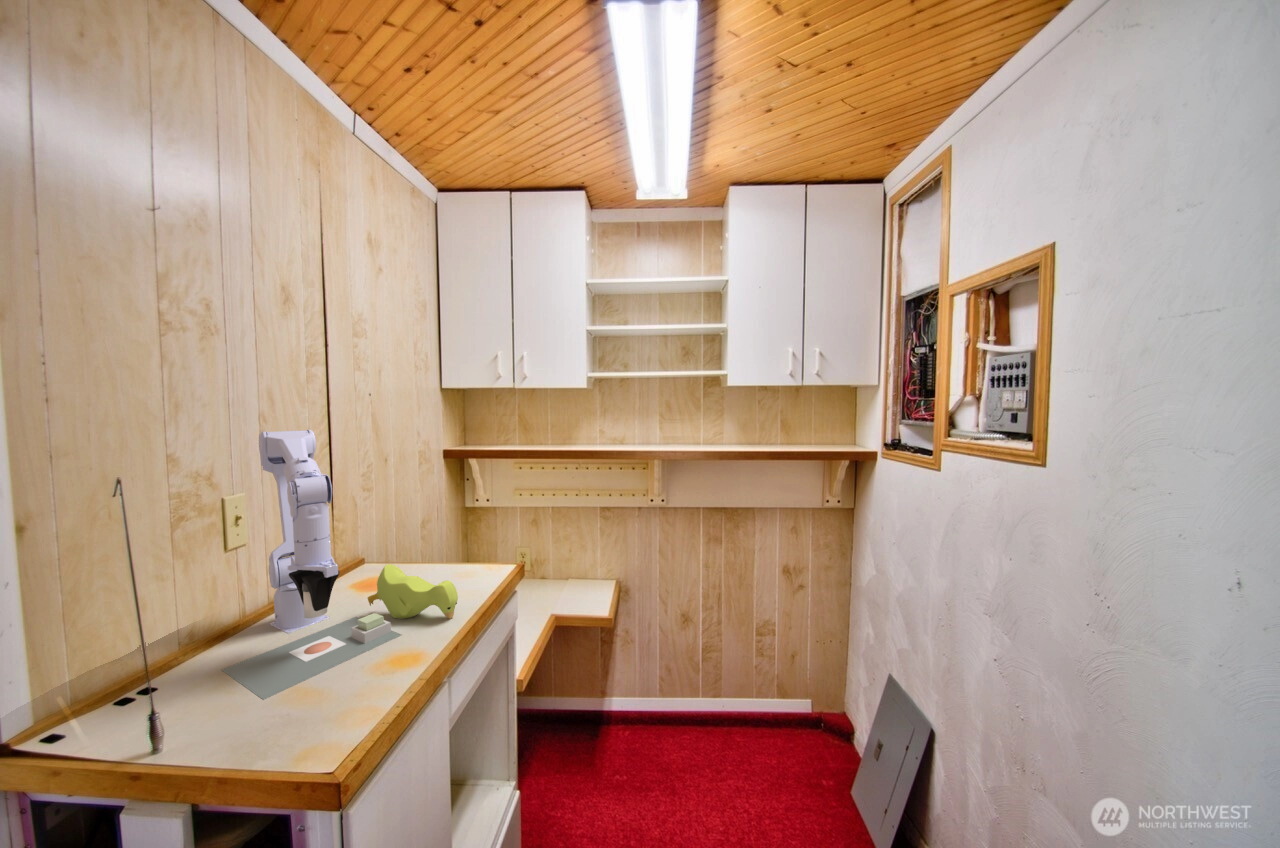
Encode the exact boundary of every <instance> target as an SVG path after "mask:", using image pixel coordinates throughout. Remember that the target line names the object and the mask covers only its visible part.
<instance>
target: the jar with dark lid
mask: <svg viewBox="0 0 1280 848" xmlns="http://www.w3.org/2000/svg"><path fill="white" fill-rule="evenodd" d="M302 591H303V599H304V617H305V618H315V617H319V616H322V615H326V614H327V613H328V607H327V608H324V609H322V610H319V611H314V609H313V606H312V601H311V596H310V593H309V590H308V588H307V586H306V584H305V583H304V582H303V583H302Z"/></svg>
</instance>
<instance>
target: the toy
mask: <svg viewBox="0 0 1280 848" xmlns="http://www.w3.org/2000/svg"><path fill="white" fill-rule="evenodd" d="M376 586H377V591H376V593H374V594H372V595H369V596H367V601H368V603H369V606H370V607H372V605H374V601H376V600H379V602H381V601H382V602H383V604H384V606H385V607H386V609H387V611H388V612H389V614H390V615H391V617H392V618H394V619H408V618H412V617H416V616H417V615H418V614H420V613H421V612H423V611H425V610H426V609H427V608H428V607H431V606H436V607H438V608H439V610H440V611H441V612H442V614H443V615H444V616H445V618H447V619H453V618H454V615H455V609H456V608H455V607H456V605H457V604H458V598H459V595H458V592H457V588H456V586H455V584H454V583H453V582H452V581H451V580H443V581H441V582H440V583H438V584H436V585H435V584H433V583H430V582H429V581H427V580H425V579H424V578H422V577H420V576H419V575H406V574H405V573H404V571H403V570H402V569H401V568H399V567H398V566H396V565H394V564H390V563H389V564H388V563H387V564H386V565H385V566H384V567H383V568H382V570H381V572H380V573H379V576H378V578H377V581H376Z"/></svg>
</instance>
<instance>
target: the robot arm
mask: <svg viewBox="0 0 1280 848" xmlns="http://www.w3.org/2000/svg"><path fill="white" fill-rule="evenodd" d="M315 435H316V434H315V433H314V431H313V430H312V429H307V430H302V429H301V430H283V431H282V430H281V431H279V430H278V431H261V432H260V433H259V435H258V451H259V452H258V453H259V458H260V459H259V460H260V465H261V466H262V470H263V471H265V472H267V473H271V474H272V475H273V477H274V479H275V482H276V486H277V497H278V505H279V515H280V523H281V525H280V526H281V533H282V543H280V545H278V546H277V547H276V548H275V549H273V550H272V551H271V552H270V555H269V557H268V563H269V564H268V576H269V577H268V578H269V583H270V587H271V588H273V589H274V590H276V591H275V592H274V593H273V594H274V595H273V607H274V608H273V610H274V621H272V622H270V623H269V625H270V626H272V627H275V628H276V629H279V630H280V631H282V632H284V633H286V634H291V633H294V632H297V631H299V630H301V629H305V628H307V627H310V626H312V625H315V624H317V623H321V622H323V621H325V620H326V621H327V620H328V619H330V616H328V615H326V614H324V615H322V616H319V617H315V618H305V617H304V599H303V591H302V583H303V582H304V583H305V584H306V586H307V588H308V590H309V593H310V596H311V601H312V606H313V609H314V611H319V610H322V609H324V608H327V609H328V607H329V603H330V600H331V595H332V591H333V588H334V585H335V583H336V582H337V579H338V577H339V576H340V570H339V566H338V564H337V563H336V561H335V560H334V558H333V556H332V546H331V545H332V544H331V543H332V542H331V525H330V508H329V504H331V503H332V498H333V485H332V481H331V478H330V476H329V475H328V474H326V473H322V472H321V469H320V467H319V465H318V463H317V461H316V460H315V458H314V457H315V453H316V447H317V441H316V436H315ZM327 503H328V504H327Z"/></svg>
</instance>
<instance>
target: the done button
mask: <svg viewBox="0 0 1280 848" xmlns="http://www.w3.org/2000/svg"><path fill="white" fill-rule="evenodd" d="M384 620H385V619H384V615H381V614H378V613H376V612H373V613H372V614H369V615H366V616H363V617H361V619H358V629H361V630H363V631H369V630H371V629H373V628H376V627H378V626H380V625H383V624H384Z"/></svg>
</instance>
